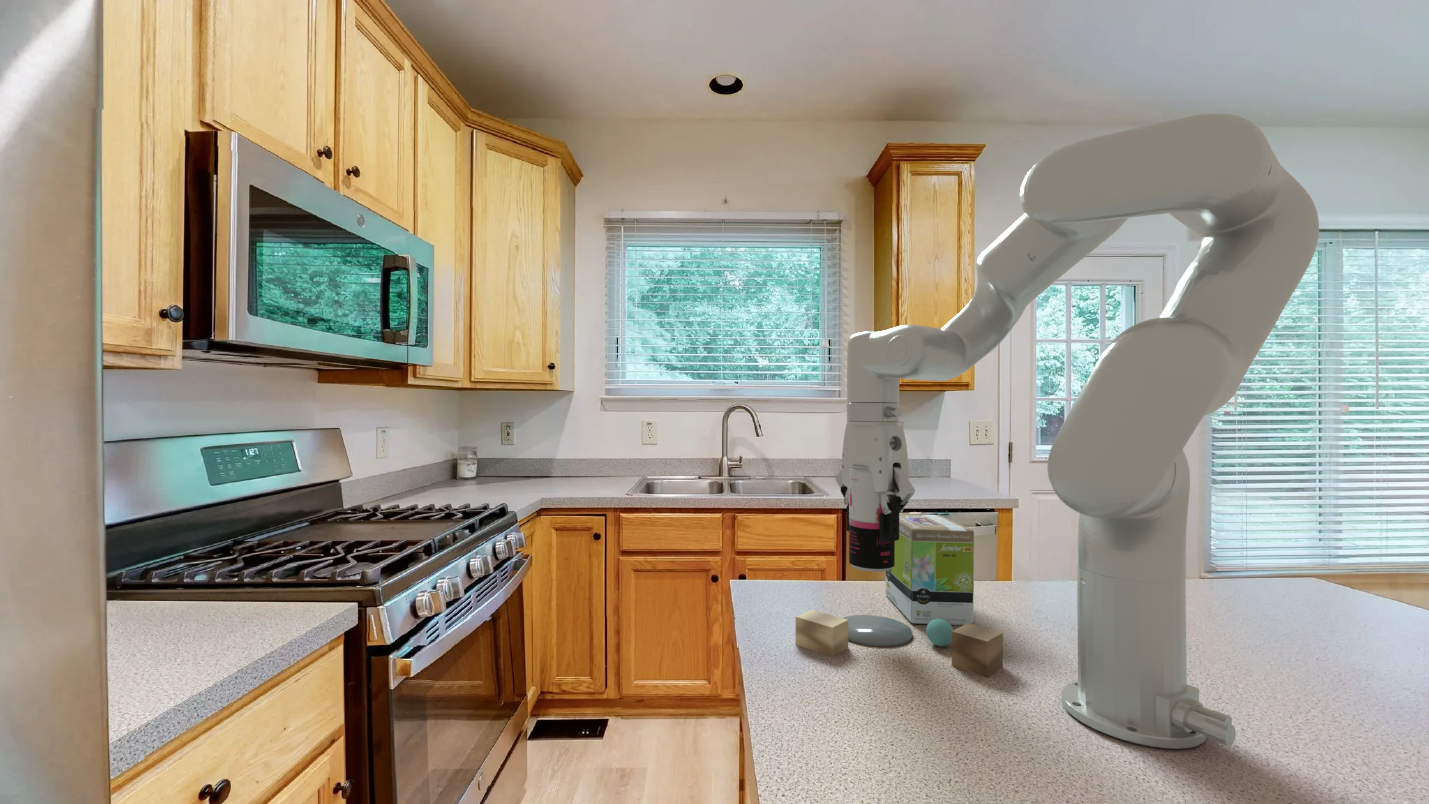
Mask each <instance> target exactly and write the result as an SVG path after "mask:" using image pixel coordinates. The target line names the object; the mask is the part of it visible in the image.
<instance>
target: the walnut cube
mask: <svg viewBox="0 0 1429 804" xmlns="http://www.w3.org/2000/svg"><path fill="white" fill-rule="evenodd" d="M1003 636H1004V635H1003V632H1002V631H998V630H994V629H992V628H987V627H984V626H980V625H976V624H973V623H972V624H970V623H967V624H965V625H960V627H958V628H955V629H953V631H952V642H951V666H952V667H955V668H956V669H957V668H958V669H960V670H963V671H965V672H969V673H972V674H975V675H978V676H981V677H984V678H986V679H987V678H989V677H991V676H992V675H994V674H995V673H996V672H998V671H1000V670H1001V669H1003V667H1004V648H1003V647H1004V643H1003V642H1004V639H1003V638H1004V637H1003Z"/></svg>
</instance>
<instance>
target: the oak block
mask: <svg viewBox="0 0 1429 804" xmlns="http://www.w3.org/2000/svg"><path fill="white" fill-rule="evenodd" d="M843 618H844V617H839V616H836V615H833V614H829V613H825V612H822V611H819V610H815V609H810V610H808V611H806V612H803V613H801V614H799V615H796V616H795V645H797V646H800V647H801V648H806V649H808V650H811V651H814V652H818V653H820V654H823V655H826V656H829V657H831V658H833V657H835V656H837V655H838V654H840V653H842V652H844V651H845V650H848V649H849V640H848V620H847V619H843Z"/></svg>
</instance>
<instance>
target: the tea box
mask: <svg viewBox="0 0 1429 804" xmlns="http://www.w3.org/2000/svg"><path fill="white" fill-rule="evenodd" d="M974 555H975V531H974V530H973V529H972V528H969V527H967V526H965V525H963V524H960V523H958V522H956V521H954V520H951V519H949V518H947V517H944V516H942V515H939V514H910V513H909V514H905V513H904V514H903V513H899V540H897V541H895V565H894V567H893V568H892V569H891V570H888V571H885V595H886V596H887V597H888V599H889V600H891V602H892V603H893V604H894V605H895V606H896V607H897V609H898V610H899V611H900V612H901V613H902V614H903V615H904V616H905V617H906V619H907V620H908V621H909V622H910V623H911V624H916V625H917V624H919V625H922V624H923V625H928V624H929V622H930V621H932V620H934V619H943V620H945V621H947V622H948V623H949V624H950V625H951V626H952V625H955V626H957V625H959V626H963V625H965V624H967V623H970V624H973V623H974V596H975V595H974V594H975V593H974V592H975V591H974V590H975V589H974V587H975V584H974V583H975V582H974V581H975V580H974V572H975V571H974V570H975V565H974V564H975V563H974V562H975V557H974Z"/></svg>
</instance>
